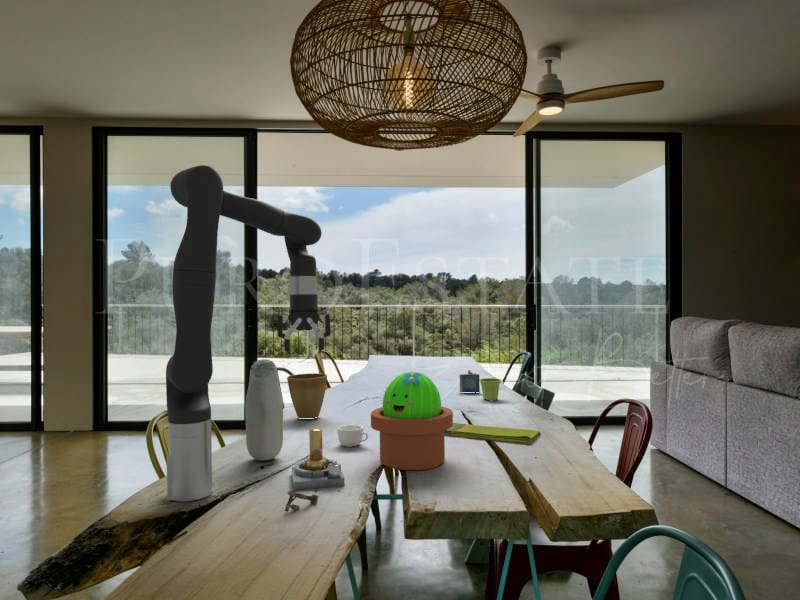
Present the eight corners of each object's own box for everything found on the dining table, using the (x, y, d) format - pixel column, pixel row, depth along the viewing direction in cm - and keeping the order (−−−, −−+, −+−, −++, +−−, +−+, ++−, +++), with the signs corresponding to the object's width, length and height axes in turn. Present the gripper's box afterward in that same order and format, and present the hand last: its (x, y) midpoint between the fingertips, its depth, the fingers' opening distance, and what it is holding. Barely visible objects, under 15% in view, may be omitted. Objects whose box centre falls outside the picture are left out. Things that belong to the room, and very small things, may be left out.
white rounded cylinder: (243, 457, 154) (242, 358, 154) (280, 452, 158) (278, 356, 158) (248, 467, 145) (247, 362, 145) (286, 462, 149) (285, 360, 149)
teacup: (332, 446, 164) (332, 429, 164) (346, 440, 171) (346, 423, 171) (360, 450, 160) (360, 432, 160) (374, 444, 167) (373, 426, 167)
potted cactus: (395, 446, 163) (394, 363, 163) (464, 455, 153) (463, 367, 153) (356, 467, 144) (355, 372, 144) (432, 479, 134) (431, 377, 134)
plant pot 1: (323, 412, 214) (323, 372, 214) (331, 420, 200) (330, 377, 200) (285, 415, 210) (284, 374, 210) (290, 424, 195) (289, 379, 195)
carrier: (293, 490, 127) (292, 466, 127) (291, 472, 140) (291, 450, 140) (344, 485, 130) (344, 462, 130) (338, 468, 143) (338, 447, 143)
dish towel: (439, 424, 193) (439, 415, 193) (541, 435, 177) (540, 425, 177) (421, 434, 180) (421, 425, 180) (529, 447, 163) (529, 436, 163)
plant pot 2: (503, 401, 232) (502, 381, 232) (481, 401, 232) (480, 381, 232) (499, 397, 242) (499, 378, 242) (478, 397, 242) (478, 378, 242)
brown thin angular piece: (279, 509, 113) (286, 487, 115) (307, 514, 119) (313, 493, 120) (284, 511, 112) (291, 489, 113) (312, 516, 118) (319, 495, 119)
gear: (305, 474, 133) (304, 433, 133) (303, 466, 139) (303, 427, 139) (329, 472, 134) (328, 431, 134) (327, 465, 140) (326, 426, 140)
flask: (459, 393, 253) (459, 370, 253) (459, 392, 256) (459, 369, 256) (479, 393, 252) (479, 370, 252) (479, 392, 255) (479, 369, 255)
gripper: (276, 293, 143) (277, 354, 143) (331, 292, 146) (331, 353, 146) (276, 293, 151) (277, 352, 151) (328, 293, 154) (329, 350, 154)
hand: (304, 352), depth 148 cm, fingers open, 8 cm apart
